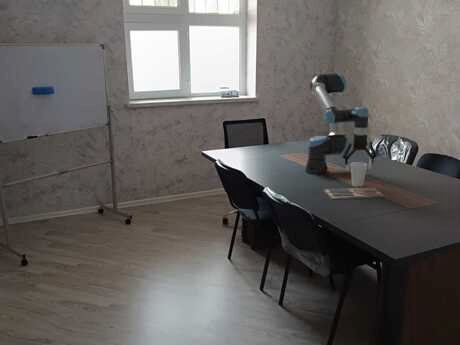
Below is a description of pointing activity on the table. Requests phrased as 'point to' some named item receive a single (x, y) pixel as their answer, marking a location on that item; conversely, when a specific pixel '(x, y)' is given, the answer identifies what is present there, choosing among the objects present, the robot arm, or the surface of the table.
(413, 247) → the table surface
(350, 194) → the sorting board
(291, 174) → the table surface
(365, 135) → the robot arm
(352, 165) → the foam cup
